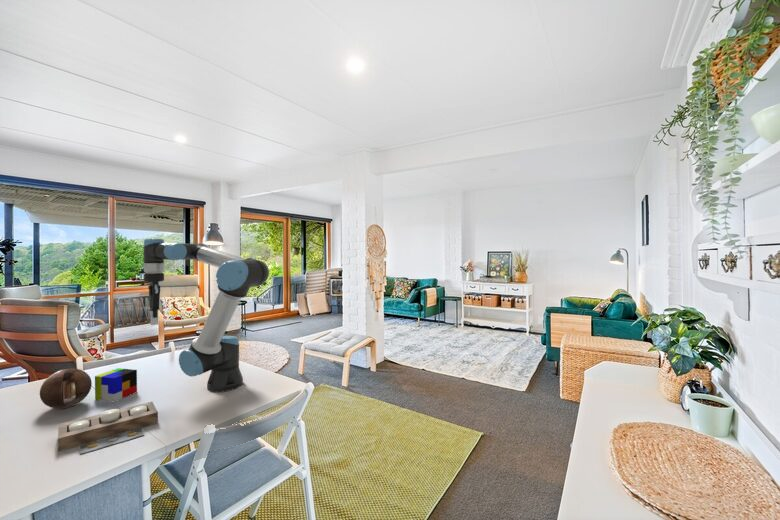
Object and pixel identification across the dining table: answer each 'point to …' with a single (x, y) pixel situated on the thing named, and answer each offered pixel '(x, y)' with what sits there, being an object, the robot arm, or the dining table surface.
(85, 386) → the wooden sphere
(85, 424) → the left button
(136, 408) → the right button
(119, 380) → the puzzle toy
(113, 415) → the middle button
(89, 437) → the button board
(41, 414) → the dining table surface
